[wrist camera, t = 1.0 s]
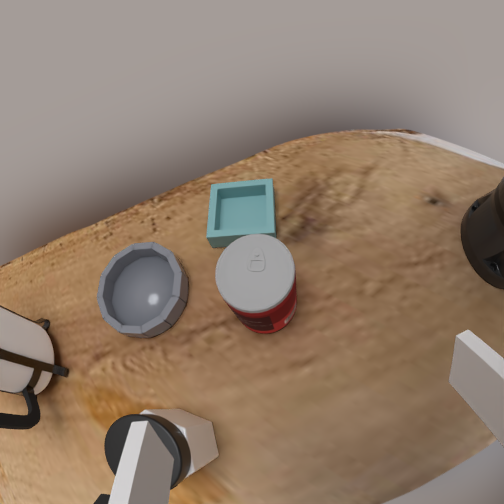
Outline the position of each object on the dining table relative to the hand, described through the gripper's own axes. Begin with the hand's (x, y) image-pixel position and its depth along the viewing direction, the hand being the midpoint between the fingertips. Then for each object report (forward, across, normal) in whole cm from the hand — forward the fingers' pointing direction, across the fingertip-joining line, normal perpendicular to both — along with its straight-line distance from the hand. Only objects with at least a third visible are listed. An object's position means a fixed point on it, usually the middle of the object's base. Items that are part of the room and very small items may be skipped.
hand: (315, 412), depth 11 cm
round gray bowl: (+31, -17, -4) cm, 36 cm away
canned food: (+27, -1, -8) cm, 28 cm away
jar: (+17, -14, -19) cm, 29 cm away
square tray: (+36, -1, +2) cm, 36 cm away
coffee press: (+26, -38, -11) cm, 47 cm away
